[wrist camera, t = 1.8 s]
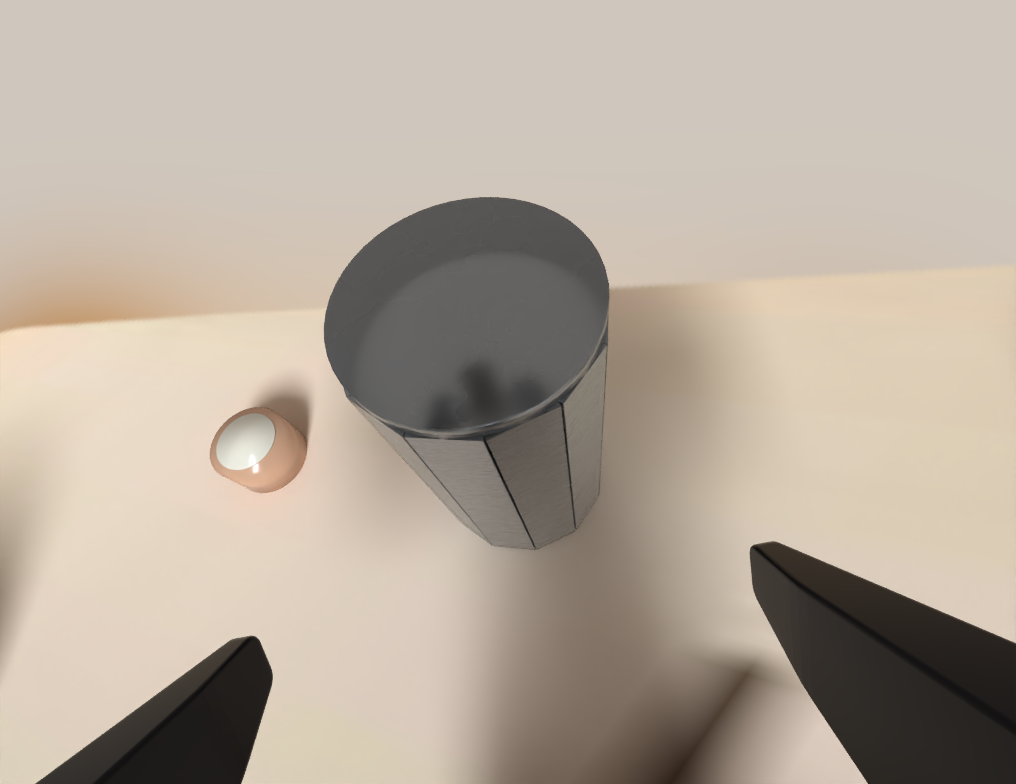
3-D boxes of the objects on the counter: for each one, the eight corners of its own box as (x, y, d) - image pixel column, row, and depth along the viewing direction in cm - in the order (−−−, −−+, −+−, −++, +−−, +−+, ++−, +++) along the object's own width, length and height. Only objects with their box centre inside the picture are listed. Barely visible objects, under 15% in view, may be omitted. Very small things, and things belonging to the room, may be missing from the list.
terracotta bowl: (269, 507, 25) (238, 492, 23) (226, 468, 26) (193, 451, 24) (321, 449, 26) (297, 430, 24) (278, 414, 28) (251, 393, 25)
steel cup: (541, 582, 21) (487, 492, 10) (417, 489, 24) (267, 338, 13) (629, 449, 24) (664, 253, 12) (506, 379, 26) (445, 169, 15)
